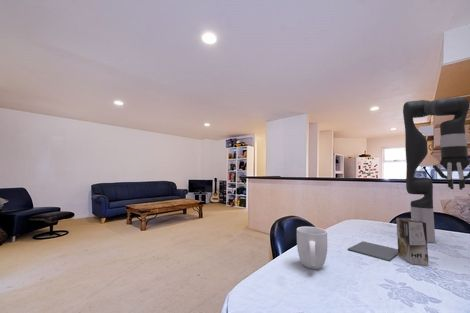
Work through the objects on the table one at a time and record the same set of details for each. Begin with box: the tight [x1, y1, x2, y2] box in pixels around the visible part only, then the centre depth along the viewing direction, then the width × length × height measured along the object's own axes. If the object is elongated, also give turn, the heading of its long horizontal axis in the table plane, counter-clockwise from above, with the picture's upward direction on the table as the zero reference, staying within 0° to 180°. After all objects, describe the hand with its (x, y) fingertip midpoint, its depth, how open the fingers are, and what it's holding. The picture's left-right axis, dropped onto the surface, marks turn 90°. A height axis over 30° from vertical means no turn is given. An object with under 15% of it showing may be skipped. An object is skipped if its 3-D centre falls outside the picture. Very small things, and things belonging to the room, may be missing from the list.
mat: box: [347, 240, 398, 262], centre depth 97 cm, size 18×16×1 cm
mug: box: [296, 226, 328, 270], centre depth 79 cm, size 15×11×13 cm
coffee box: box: [395, 217, 429, 266], centre depth 87 cm, size 9×6×16 cm
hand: (456, 189), depth 85 cm, fingers closed
